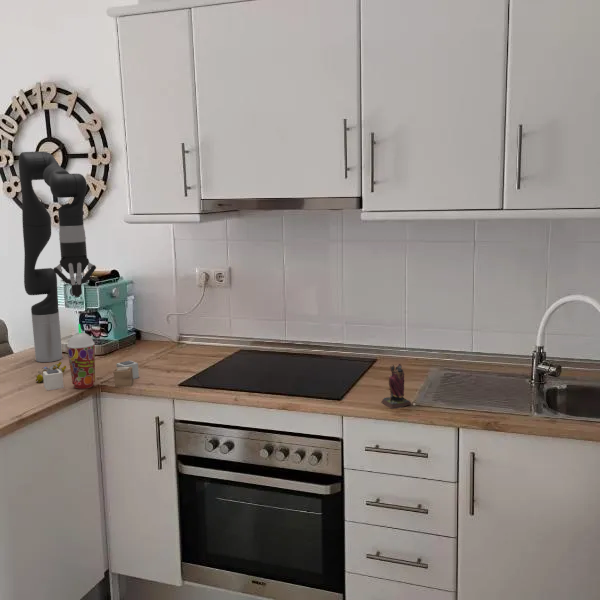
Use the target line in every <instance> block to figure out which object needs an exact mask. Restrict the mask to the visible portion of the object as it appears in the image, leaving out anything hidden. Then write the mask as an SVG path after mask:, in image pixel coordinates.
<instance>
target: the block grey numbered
mask: <svg viewBox="0 0 600 600" xmlns="http://www.w3.org/2000/svg"><path fill="white" fill-rule="evenodd" d="M115 365H116V366H115V367H116V368H119V367H132V370H133V380H135V379H139V378H140V377H139V363H138V362H135V361H133V360H126V361H121V362H117V363H116V364H115Z"/></svg>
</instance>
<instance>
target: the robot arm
mask: <svg viewBox="0 0 600 600" xmlns="http://www.w3.org/2000/svg"><path fill="white" fill-rule="evenodd" d="M18 171H19V172H18V173H19V175H18V176H19V183H20V190H21V191H20V192H21V204H22V205H21V206H22V207H21V211H22V213H21V214H22V221H21V223H22V235H23V236H22V237H23V249H24V259H23V261H24V263H23V264H24V265H23V268H24V269H23V270H24V271H23V272H24V273H23V285H24V290H25V293H26V294H27V295H29V296H41V295H46V297H45V298H44V299H43V300H41V301H39V302H38V303H35V304H33V305H31V308H30V311H31V323H32V333H33V335H32V336H33V343H34V356H35V362H38V363H48V362H49V363H51V362H56V361H60V360H62V359H63V349H62V347H63V346H62V336H61V335H62V333H61V324H60V312H59V311H60V309H59V300H58V299H59V298H58V297H59V296H58V277H59V278H60V279H61V280H62V281H63V282H64V283H65V284H67V285H70V286H71V294H72V296H74V298H80V297H81V295H82V294H83V291H82V290H83V289H82V284H84V283H87V282H88V281H89V279H90V278H91V276H93V275H92V274H93V273H94V272H95V271H96V269H97V266H96V265H95V264H93V263H91V262H90V260H89V258H88V255H87V254H88V253H87V251H88V250H87V243H86V241H87V240H86V239H87V237H86V231H85V226H84V224H85V223H84V213H83V212H84V206H85V205H84V204H85V198H86V195H87V193H86V192H87V189H88V188H87V187H88V183H87V179H86V177H85V176H84V175H83V174H81V173H70V172H69V171H68V170H67V169H65V168H63V167H62V166H60V164H59V162H58V161H57V159H56V158H55V156H54V155H52V153H50V152H48V151H24V152H21V153H19V156H18ZM37 180H38V181H40V180H43V181H44V183H45V184H46V185H47V186H48V187H49V188H50V192H51V194H52V196H53V197H55V198H59V199H60V198H61V199H64V198H65V199H66V198H73V199H72V202H70V203H69V204H66V205H62V206H59V208H58V211H57V212H58V226H59V230H58V235H59V239H58V240H59V247H60V260H59V264H58V265H57V266H55V267H53V268H51V267H46V268H37V269H36V266H37V265H36V264H37V261H38V259H39V256H40V255H41V254H42V252H43V250H44V249H45V247H46V246H47V244H48V243H49V241H50V239H51V237H52V217H51V214H50V212H49V211H48V209H47V208H46V206H45V205H44V204H43V203H42V202H41V200H40V199H39V198H38V196H37V194H36V192H35V190H34V187H33V181H37ZM86 268H87V271H86V273H85V275H84V276H83V277H82V273H83V272H84V271H85V270H86ZM63 269H64V271H65V272H66V273H67V274H69V278H68V277H67V276H66V275H65V274H64V273H63ZM75 274H76V277H75ZM57 276H58V277H57ZM75 278H76V279H75Z"/></svg>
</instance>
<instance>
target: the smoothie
mask: <svg viewBox="0 0 600 600" xmlns="http://www.w3.org/2000/svg"><path fill="white" fill-rule="evenodd" d="M77 327H78V332H76V333H75V334H73V335H72V336H71V337H70V338H69V340H68V342H67V344H66V349H67V355H68V362H69V368H70V369H69V370H70V376H71V382H72V385H74V388H76V389H80V390H82V389H90V388H92V387H93V386H94V384H95V383H96V363H95V361H96V358H95V356H96V355H95V354H96V353H95V350H96V349H95V341H94V339H93V338H92V337H91V336H90V334H88V333H85V332H82V328H81V324H80V323H78V325H77Z"/></svg>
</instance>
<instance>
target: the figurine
mask: <svg viewBox="0 0 600 600" xmlns="http://www.w3.org/2000/svg"><path fill="white" fill-rule="evenodd" d="M402 367H403V366H402V364H401V363H398V364H397V365H396V366H395V365H394V364H392V365H390V367H389V371H390V372H391V375H390V374H389V375H388V386H389V393H390V394H389V395H390V397H389V396H387V397H384V398H382V400H381V403H382V404H383V405H385V406H386V407H388V408H389V409H391V410H393V409H401V408H404V407H406V406H409V405H410V406H411V405H412V403H411V401H410V400H408V399H407V398H405V397H404V396H405V372H404V369H403V368H402Z"/></svg>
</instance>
